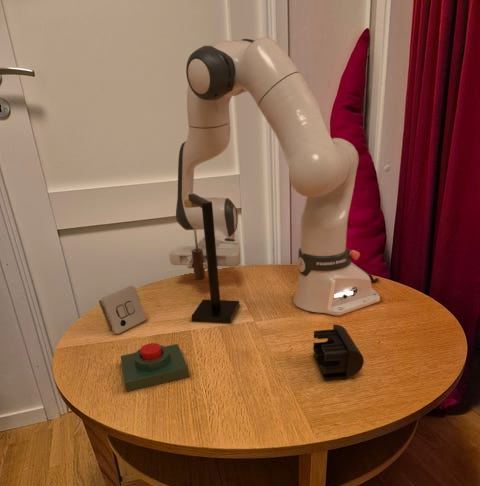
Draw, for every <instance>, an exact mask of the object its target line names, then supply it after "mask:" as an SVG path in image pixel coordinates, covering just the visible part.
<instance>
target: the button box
mask: <svg viewBox="0 0 480 486" xmlns="http://www.w3.org/2000/svg"><path fill="white" fill-rule="evenodd" d="M159 345H160V344H159ZM160 346H161V351H162V356H161V357H159V358H158V359H155V360H143V359H142V357H141V352H140V349H141V348H139V349H137V350H136V352H132V353H128V354H123V355H120V362H121V369H122V376H123V382H124V387H125V392H130V391H135V390H140V389H144V388H148V387H152V386H157V385H161V384H166V383H169V382H173V381H178V380H182V379H187V378H189V376H190V375H189V370H188V366H187V363H186V360H185V359H184V356H183V353H182V351H181V348H180V346H179V344H178V343H175V344H170V345H163V344H162V345H160Z"/></svg>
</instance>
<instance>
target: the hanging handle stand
mask: <svg viewBox="0 0 480 486" xmlns="http://www.w3.org/2000/svg"><path fill="white" fill-rule="evenodd" d="M188 197H189V199H185V200H184V206H185V207H186V208H195V207H201V208H202V215H203V225H204V230H203V233H204V235H203V237H204V236H205V246H206V257H207V268H208V269H207V278H208V288H209V297H210V298H209V299H205V298H204V299H202V300H201V302H200V303H199V304H198V306H197V307H196V308H195V310H194V312H193V313H192V315H191V317H190V318H191V322H197V323H213V324H214V323H215V324H216V323H217V324H231V323H232V322H233V320H234V318H235V316H236V314H237V312H238V310H239V308H240V305H241V304H240V303H241V302H240V300H228V299H227V300H225V299H221V295H220V283H219V282H220V281H219V269H218V266H217V256H216V244H215V232H214V220H213V207H212V202H211V201H208V200H206V199H204V198H202V196H199V195H198V194H196V193H193V194H188Z"/></svg>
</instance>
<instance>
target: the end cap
mask: <svg viewBox="0 0 480 486" xmlns="http://www.w3.org/2000/svg"><path fill="white" fill-rule="evenodd" d="M313 339H317V340H324V339H327V340H326V341H318V342H313V346H312V347H313V358H314V360H315V363H316V365H317V367H318V369H319V372H320V374H321V377H322V379H323V381H326V382H327V381H338V380H339V381H340V380H347V379H349V378H351V377H353V376H356V375H357V374H358V373H359V372H360V371H361V370H362V368H363V366H364V356H363V354H362V353H361V351H360V350H359V348H358V346H357V345H356V344H355V342H354V340H353V339H352V337H351V335H350V334H349V332H348V331H347V329H346V328H345V327H344V326H342V325H340V324H333V325H332V329H321V330H313Z"/></svg>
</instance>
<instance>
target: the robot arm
mask: <svg viewBox="0 0 480 486" xmlns="http://www.w3.org/2000/svg"><path fill="white" fill-rule="evenodd" d="M185 67H186V68H185V74H186V80H187V93H186V114H187V125H188V133H187V134H188V135H187V137H186V140H185V141H184V142H182V143H181V145H180V148H179V151H178V161H177V164H178V165H177V198H176V207H175V220H176V222H177V223H178V225H179V226H180V227H181V228H183V230H185V231H194V227H196V231H198V230H203V231H204V225H203V215H202V208H201V207H195V208H186V207H185V206H184V200H185V199H189V197H188V194H194V181H195V180H194V178H195V177H194V176H195V168H196V167H197V166H199V165H200V164H203V163H205V162H207V161H210V160H213V159H215V158H217V157H218V156H220V155H221V154H222V153H224V152H225V150H226V149H227V148H228V147H229V144H230V140H231V118H230V116H231V115H230V101H231V98H232V97H236V96H239V95H241V94H244V93H246V92H247V93H248V94H249V95H250V96H251V97H252V99H253V101H254V103H255V104H256V106H257V107H258V109H259V110H260V112H261V114H262V116H263V117H264V118H265V120H266V122H267V124H268V125H269V127H270V128H271V130H272V132H273V133H274V135H275V137H276V139H277V140H278V143H279V145H280V148H281V150H282V153H283V156H284V158H285V161H286V164H287V166H288V179H289V182H290V184H291V186H292V189H294V190H295V192H296V193H298V194H299V195H301V196H303V197H306V198H305V203H304V208H303V210H302V213H301V216H300V236H299V237H300V243H299V245H300V247H299V248H298V255H297V257H298V258H297V269H298V278H297V283H296V289H295V293H294V296H293V298H292V302H293V304H294V305H295V306H296V307H298V308H299V309H302V310H304V311H308V312H312V313H319V314H327V315H331V316H336V317H337V316H342V315H345V314H348V313H352V312H353V311H357V310H359V309H362V308H365V307H368V306H371V305H373V304H377V303H379V302H380V301H381V296H380V294H379V293H378V291H376V290H375V289H374V288H373V287H372V283H376V282H378V281H379V277H376V278H374V277H373V275H372V274H371V273H369V272H368V271H364V270H363V269H361V268H360V267H359V266H357V265H356V264H355V263H354V262H352V259H353V260H354V261H357V260H359V258H360V256H361V253H360V252H359V251H357V250H355V249H352V250H351V249H350V248H348V247H347V237H348V236H347V235H348V234H347V233H348V223H349V213H350V209H351V204H352V198H353V195H354V189H355V182H356V176H357V170H358V167H359V163H360V162H359V161H360V159H359V153H358V151H357V149H356V146H354V144H352V143H351V142H349V141H348V140H346V139H343V138H340V137H333V138H332V137H331V135H330V133H329V131H328V129H327V126H326V123H325V121H324V118H323V114H322V112H321V106H320V103H319V101H318V100H317V98H316V97H315V95H314V94H313V92H312V90H311V89H310V87H309V85H308V83H307V82H306V80H305V78H304V77H303V75H302V74H301V72H300V70H299V69H298V67H297V66H296V64H295V63H294V61H292V59H291V57H290V56H289V55H288V54H287V53H286V51H285V50H284V49H283V48H282V47H281V45H279V44H278V43H277V42H276V41H275V40H274V39H273V38H271V37H260V38H257V39H250V38H243V39H240V40H238V39H237V40H222V41H218V42H216V43H211V44H210V45H203V46H201V47H199V48H197V49H195V50H194V51H193V52H192V53H191V54H190V55H189V57H188V59H187V62H186V66H185ZM201 197H202V196H201ZM202 198H204V199H206V200H208V201H211V202H212V207H213V220H214V232H215V244H216V256H217V267H239V266H240V264H241V245H240V241H239V240H238V239H236V233H235V232H236V231H237V229H238V223H239V222H238V219H239V218H238V216H239V215H238V210H237V207H236V206H235V204H234V203H233V201H232V200H231V199H230V198H228V197H204V196H203V197H202ZM197 243H198V249H202V250H203V258H204V262H203V269H205V270H208V268H207V257H206V246H205V236H204V235H203V237H202V238H200V239H199V241H197ZM194 249H196V246H195V245H182V246H178V247H176V248H174V249H172V250H171V251H170V252H169V262H170V264H171V265H172V266H187V269H193V260H192V250H194Z"/></svg>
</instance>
